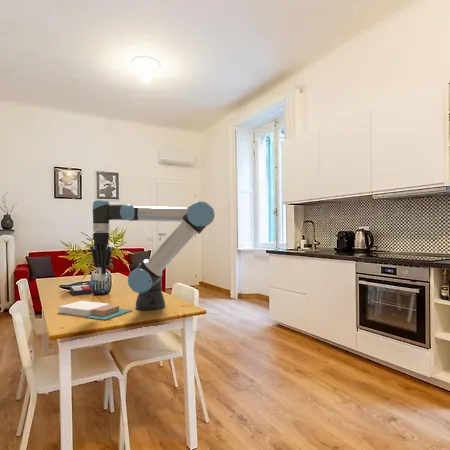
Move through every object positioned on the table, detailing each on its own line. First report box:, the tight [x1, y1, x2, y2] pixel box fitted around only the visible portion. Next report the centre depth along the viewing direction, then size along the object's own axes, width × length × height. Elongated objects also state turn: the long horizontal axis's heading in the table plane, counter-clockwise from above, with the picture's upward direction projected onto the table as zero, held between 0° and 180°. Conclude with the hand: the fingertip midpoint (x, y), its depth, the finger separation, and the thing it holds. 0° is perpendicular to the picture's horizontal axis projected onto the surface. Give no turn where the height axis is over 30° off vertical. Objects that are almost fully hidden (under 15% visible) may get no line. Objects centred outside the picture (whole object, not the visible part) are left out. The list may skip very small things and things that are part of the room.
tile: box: [93, 304, 120, 316], centre depth 158 cm, size 10×7×2 cm
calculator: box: [69, 284, 93, 297], centre depth 212 cm, size 11×4×15 cm
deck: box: [58, 300, 111, 317], centre depth 163 cm, size 14×20×3 cm
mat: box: [84, 308, 133, 321], centre depth 157 cm, size 18×12×1 cm, turn 156°
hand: (101, 280), depth 159 cm, fingers closed
